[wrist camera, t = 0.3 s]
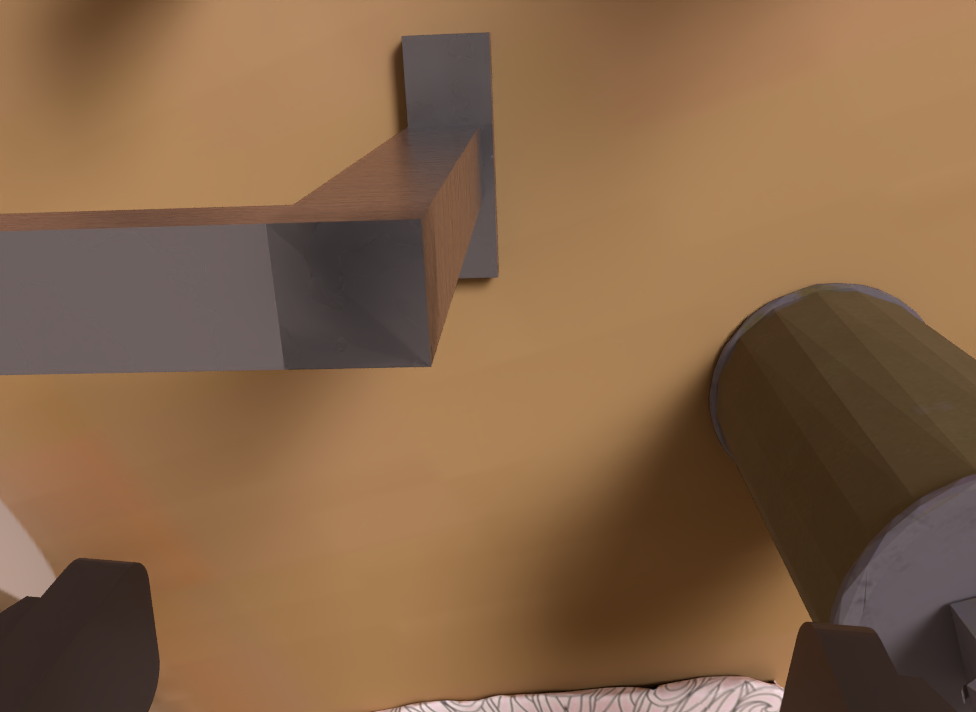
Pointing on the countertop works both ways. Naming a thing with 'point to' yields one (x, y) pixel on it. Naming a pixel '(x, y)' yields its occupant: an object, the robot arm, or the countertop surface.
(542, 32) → the countertop surface
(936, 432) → the canister
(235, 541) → the countertop surface
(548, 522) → the countertop surface
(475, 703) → the cookie jar
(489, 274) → the keeper bracket
